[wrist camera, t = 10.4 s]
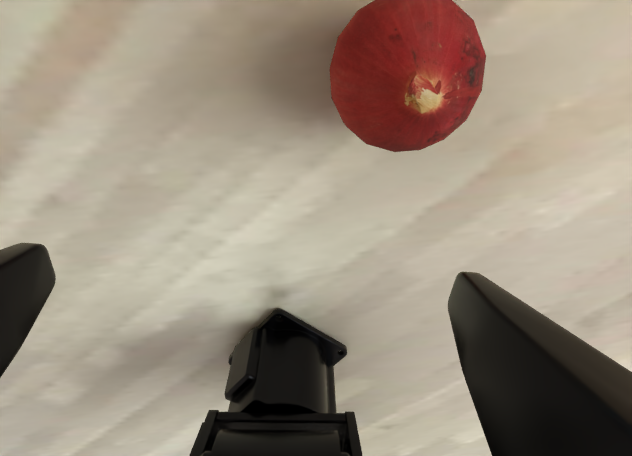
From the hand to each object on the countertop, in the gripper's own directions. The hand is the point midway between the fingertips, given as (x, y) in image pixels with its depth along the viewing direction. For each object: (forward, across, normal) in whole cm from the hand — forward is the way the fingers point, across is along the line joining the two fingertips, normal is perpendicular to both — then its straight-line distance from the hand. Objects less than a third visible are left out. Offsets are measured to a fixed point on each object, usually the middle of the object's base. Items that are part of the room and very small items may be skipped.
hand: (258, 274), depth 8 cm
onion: (+13, -5, -3) cm, 14 cm away
